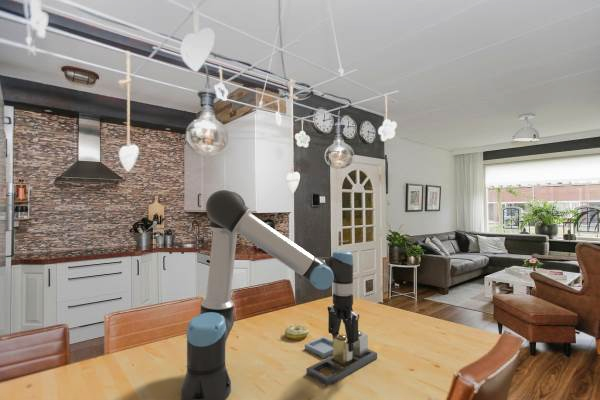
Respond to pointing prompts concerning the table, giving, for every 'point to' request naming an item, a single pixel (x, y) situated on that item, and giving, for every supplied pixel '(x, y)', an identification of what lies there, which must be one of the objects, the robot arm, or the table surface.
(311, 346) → the parts tray
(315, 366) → the rail
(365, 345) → the grey knobbed block
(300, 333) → the decorated donut
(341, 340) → the gold block with knob
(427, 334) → the table surface
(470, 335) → the table surface
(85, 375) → the table surface
